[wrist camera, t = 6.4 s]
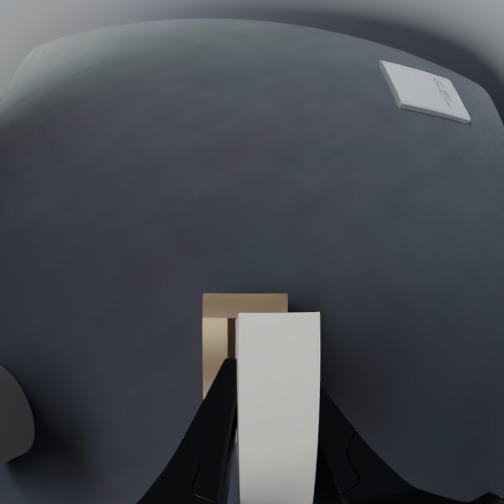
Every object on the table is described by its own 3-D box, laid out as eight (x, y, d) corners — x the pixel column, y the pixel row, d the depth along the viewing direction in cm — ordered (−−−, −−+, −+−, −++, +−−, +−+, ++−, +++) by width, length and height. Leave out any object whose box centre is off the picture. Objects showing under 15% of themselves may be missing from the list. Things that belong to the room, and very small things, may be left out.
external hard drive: (376, 67, 32) (444, 84, 33) (396, 110, 30) (466, 126, 31) (380, 59, 30) (449, 77, 31) (402, 102, 28) (472, 119, 29)
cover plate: (264, 422, 15) (307, 543, 4) (235, 423, 15) (241, 549, 4) (264, 320, 16) (319, 312, 6) (235, 320, 16) (238, 313, 6)
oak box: (277, 420, 21) (287, 440, 16) (210, 421, 20) (204, 441, 16) (277, 300, 23) (287, 293, 19) (209, 300, 23) (203, 293, 18)
